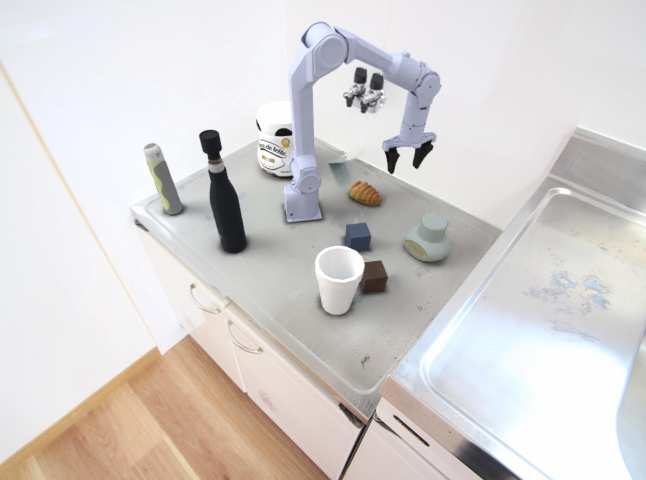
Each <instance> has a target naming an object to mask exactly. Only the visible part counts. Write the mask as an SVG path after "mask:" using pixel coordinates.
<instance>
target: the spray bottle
mask: <svg viewBox="0 0 646 480" xmlns="http://www.w3.org/2000/svg"><path fill="white" fill-rule="evenodd" d="M142 149H143V150H142V151H143V153H144V157H145V161H146V164H147V167H148V169H149V173H150V175H151V176H152V178H153V181H154V185H155V188H156V191H157V193H158V196H159V199H160V200H161V203H162V207H163V209H164V211H165V213H166V214H168V215H176V214H179V213H180V212H181V211H182V210H183V204H182V201H181V199H180V196H179V193H178V189H177V188H176V185H175V182H174V179H173V177H172V175H171V170H170V168H169V166H168V163H167V161H166V158H165V156H164V153H163V151H162V148H161V146H160V145H159V144H158V143H155V142H150V143H147V145H145V146H144V147H143V148H142Z"/></svg>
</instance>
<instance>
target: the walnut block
mask: <svg viewBox="0 0 646 480" xmlns="http://www.w3.org/2000/svg"><path fill="white" fill-rule="evenodd" d="M364 265H365V267H364V272H363V276H362V279H361V281H360V282H359V285H360V288H361V289H360V290H361V292H362V294H363V295H365V294H370V293H371V294H372V293H379V292H385V291H386V287H387V283H388V279H389V276H388V273H387V271H386V268H385V265H384V263H383V261H382V259H380V260H372V261H371V260H370V261H364Z"/></svg>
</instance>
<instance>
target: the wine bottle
mask: <svg viewBox="0 0 646 480" xmlns="http://www.w3.org/2000/svg"><path fill="white" fill-rule="evenodd" d="M198 138H199V143H200V146H201V150H202V152H203V154H206V155H207V167H208V169H207V173H208V176H209V180H210V184H209V192H208V193H209V205H210V208H211V212H212V216H213V219H214V222H215V226H216V230H217V234H218V237H219V241H220V245H221V247H222V248H221V249H222V250H223V251H224V252H225V253H228V254H238V253H241V252H242V251H244V250H245V249H246V247H247V245H248V241H247V235H246V230H245V225H244V219H243V214H242V209H241V204H240V199H239V195H238V193H237V191H236V188H235V187H234V185H233V183H232V181H230V179H229V176H228V175H229V174H228V170H227V167H226V165H225V162H224V159H223V158H222V156H221V153H220V152H221V151H222V150H223V145H222V140H221V136H220V132H219V131H218V130H216V129H204V130H203V131H201V132H199V134H198Z"/></svg>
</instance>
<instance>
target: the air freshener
mask: <svg viewBox="0 0 646 480" xmlns="http://www.w3.org/2000/svg"><path fill="white" fill-rule="evenodd" d="M448 226H449V222H448V220H447V219H446V217H445V216H443V215H442V214H439V213H434V212H431V213H426V214H424V215H423V216H422V217H421V219H420V223H419V224H417V225H415V226H413V227H411V228H410V229H409V230H407V231H406V233H405V235H404V241H403V242H404V247H405V248H406V250H407V251H408V253H410V254H411V255H412V256H413V257H414V258H416V259H417V260H420V261H423V262H428V263H429V262H430V263H431V262H432V263H433V262H438V261H441V260H443V259H445V258H446V257H448V255H449V254H450V252H451V250H452V240H451V238H450V236H449V235H448V233H447V229H448Z"/></svg>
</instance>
